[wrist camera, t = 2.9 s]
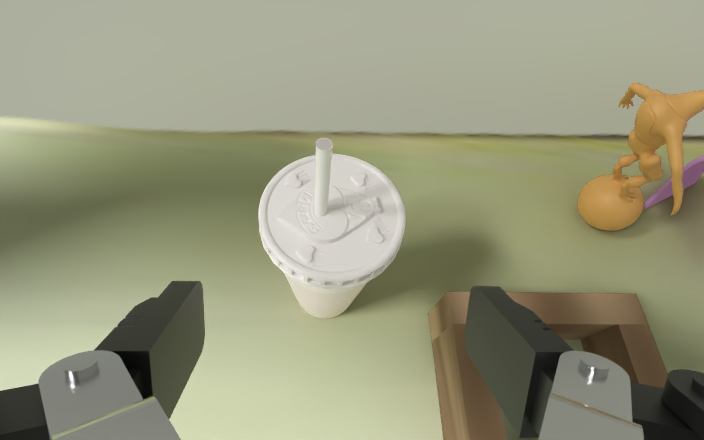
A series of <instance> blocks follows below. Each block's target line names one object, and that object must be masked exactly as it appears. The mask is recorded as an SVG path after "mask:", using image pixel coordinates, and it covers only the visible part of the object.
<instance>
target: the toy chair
mask: <svg viewBox="0 0 704 440" xmlns="http://www.w3.org/2000/svg"><path fill="white" fill-rule="evenodd" d="M703 172H704V155H703V156H701V157H699V158H697V159H695V160H693V161H692V162H690V163H688V164H687V165H686V166H684V167H683V176H682V183H683V190H684V189H686V188H688V187H690V186H692V185H694V184H695V183H696V182H697V181H698V179H699V178H700V176H701V175H702V173H703ZM672 195H673V193H672V182H671V178H670V179H669V180H667V181H666V182H665V183H664V184H663V185H662V186H661V187H660V188H659V189H658V190H657V191H656V192H655V193H654V194H653V195H652V196H651V197H650V198H649V199H648V200H647V201H646V202H645V203H644V208H645V209H646V208H648V207H650V206H652V205H654V204H656V203H658V202H660V201H662V200H664V199H666V198H668V197H670V196H672Z"/></svg>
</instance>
